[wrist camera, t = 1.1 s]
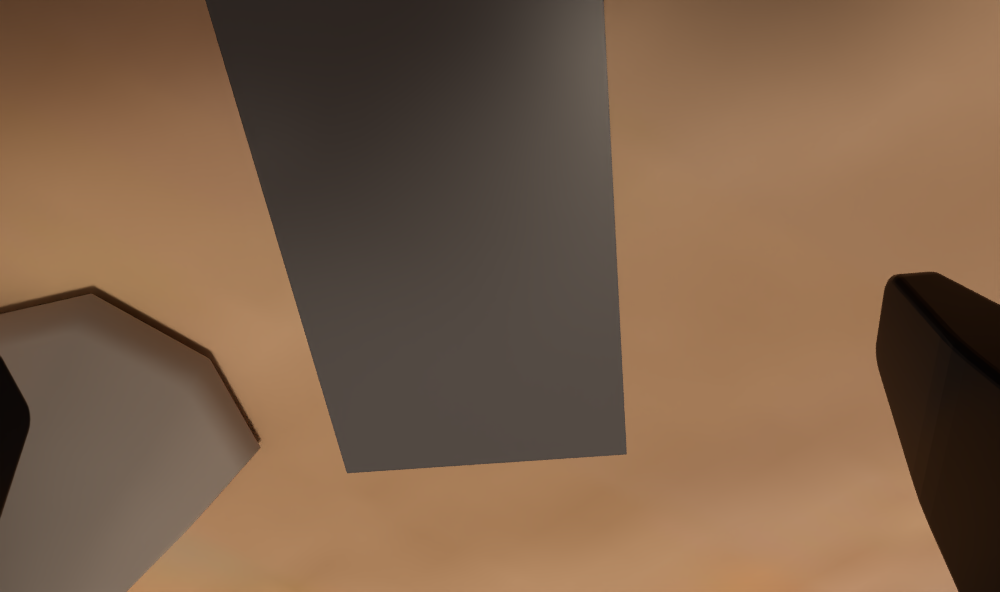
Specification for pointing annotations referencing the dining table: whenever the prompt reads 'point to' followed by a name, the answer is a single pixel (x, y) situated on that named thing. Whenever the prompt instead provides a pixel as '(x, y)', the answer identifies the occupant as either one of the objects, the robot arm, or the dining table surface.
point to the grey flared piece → (109, 446)
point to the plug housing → (441, 218)
